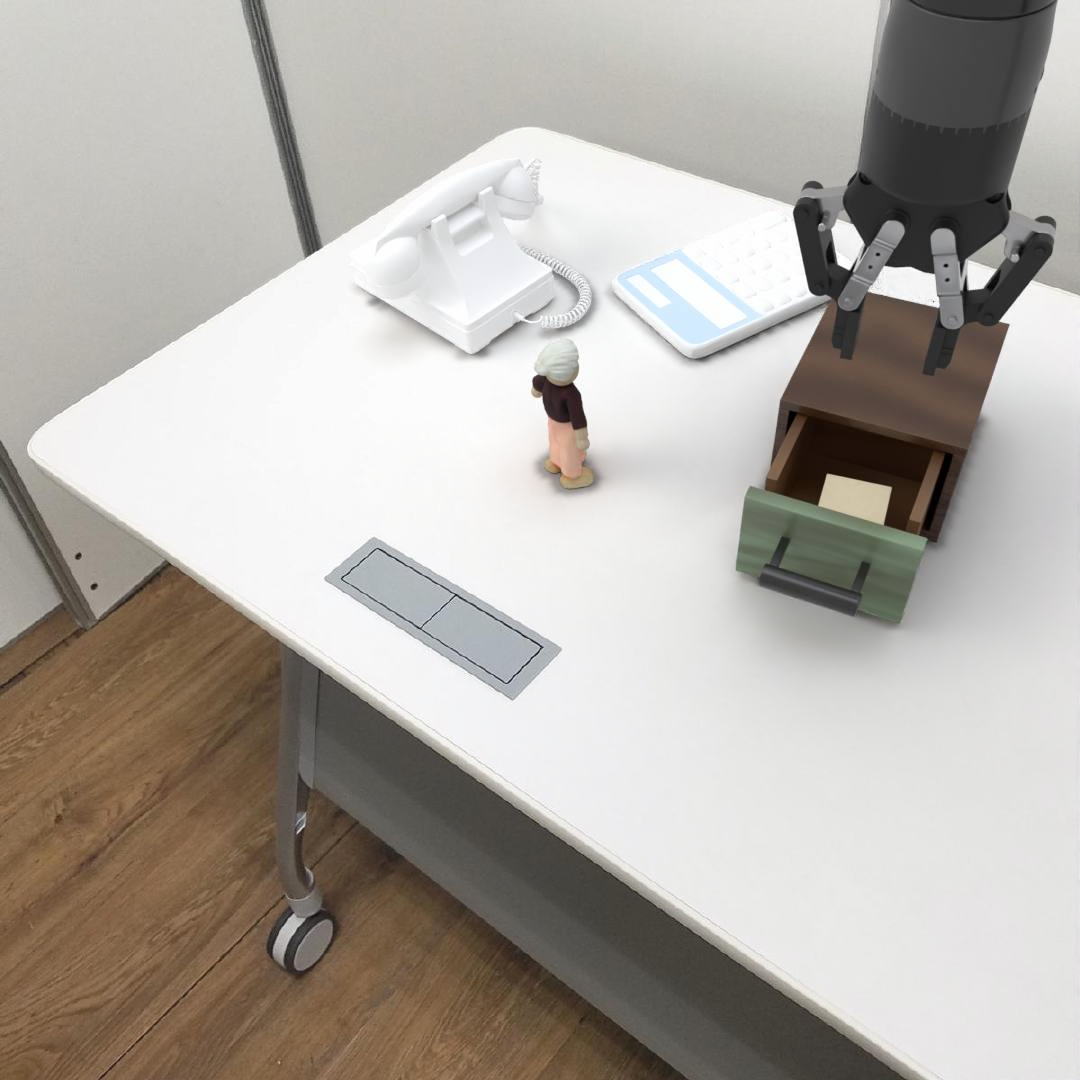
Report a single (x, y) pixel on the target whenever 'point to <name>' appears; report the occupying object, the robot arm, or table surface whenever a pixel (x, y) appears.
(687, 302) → the calculator
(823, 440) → the drawer
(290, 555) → the table surface
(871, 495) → the block
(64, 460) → the table surface
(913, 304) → the cabinet
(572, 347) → the grandmother figurine
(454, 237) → the telephone
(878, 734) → the table surface
